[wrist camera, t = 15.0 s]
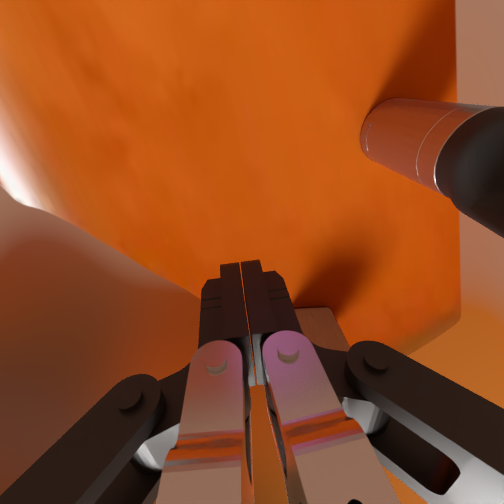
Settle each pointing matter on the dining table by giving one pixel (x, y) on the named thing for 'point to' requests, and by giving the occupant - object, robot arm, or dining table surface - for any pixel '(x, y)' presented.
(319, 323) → the block
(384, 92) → the dining table surface
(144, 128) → the dining table surface
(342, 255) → the dining table surface
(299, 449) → the robot arm
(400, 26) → the dining table surface
